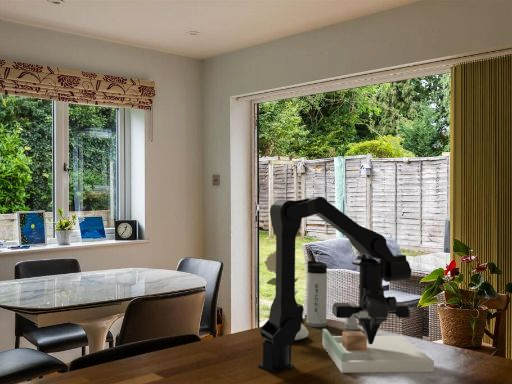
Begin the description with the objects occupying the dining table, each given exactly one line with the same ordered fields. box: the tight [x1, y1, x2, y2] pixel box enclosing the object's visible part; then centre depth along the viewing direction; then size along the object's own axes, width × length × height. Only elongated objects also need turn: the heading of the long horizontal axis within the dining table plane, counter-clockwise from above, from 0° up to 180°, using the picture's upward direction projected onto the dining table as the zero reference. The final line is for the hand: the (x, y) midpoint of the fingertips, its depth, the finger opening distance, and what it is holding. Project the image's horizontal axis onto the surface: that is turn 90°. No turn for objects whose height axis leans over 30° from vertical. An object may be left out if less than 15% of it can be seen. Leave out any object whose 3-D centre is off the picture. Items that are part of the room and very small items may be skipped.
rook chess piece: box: [343, 301, 359, 331], centre depth 170 cm, size 4×4×8 cm
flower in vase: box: [264, 250, 309, 341], centre depth 158 cm, size 13×11×25 cm
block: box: [341, 331, 367, 351], centre depth 140 cm, size 5×5×4 cm
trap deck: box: [321, 328, 435, 374], centre depth 140 cm, size 22×23×4 cm
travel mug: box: [305, 260, 328, 328], centre depth 174 cm, size 6×7×20 cm
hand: (370, 344), depth 140 cm, fingers closed
